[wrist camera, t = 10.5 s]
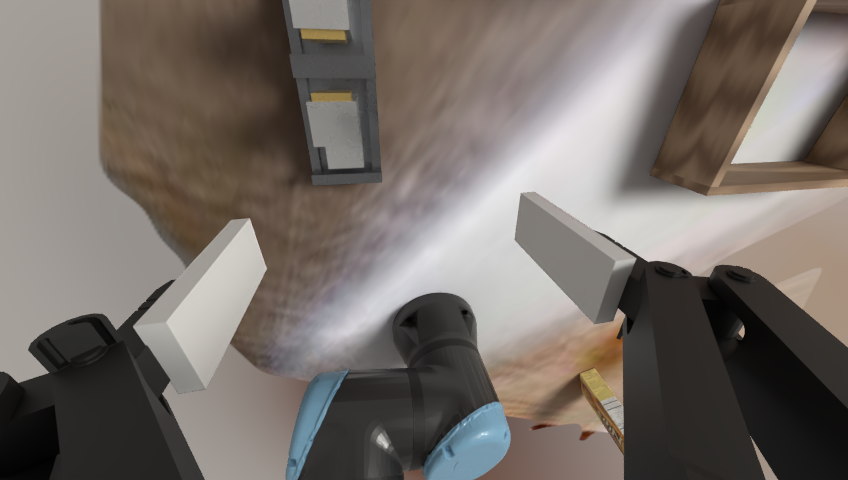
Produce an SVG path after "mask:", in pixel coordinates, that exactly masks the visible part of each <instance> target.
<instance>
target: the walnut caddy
mask: <svg viewBox="0 0 848 480" xmlns="http://www.w3.org/2000/svg"><path fill="white" fill-rule="evenodd" d="M810 12H821V13H838V14H848V0H720V3H719V5H718V8H717V10H716V12H715V15H714V17H713V20H712V22H711V25H710V27H709V30H708V32H707V35H706V37H705V40H704V42H703V45H702V47H701V50H700V52H699V55H698V57H697V60H696V62H695V65H694V67H693V70H692V72H691V75H690V77H689V80H688V82H687V85H686V87H685V90H684V92H683V95H682V97H681V100H680V102H679V105H678V107H677V110H676V112H675V115H674V117H673V120H672V122H671V125H670V127H669V130H668V132H667V135H666V137H665V140H664V142H663V144H662V147H661V149H660V152H659V154H658V157H657V159H656V162H655V164H654V167H653V169H652V172H651V174H650V175H652V176H654V177H657V178H660V179H662V180H665V181H668V182H670V183H673V184H676V185H679V186H681V187H684V188H687V189H689V190H692V191H695V192H697V193H700V194H703V195H706V196H711V195H726V194H742V193H757V192H772V191H788V190H803V189H819V188H834V187H848V94H847V96H846V97H845V99H844V100H843V102H842V103H841V105H840V106H839V108H838V109H837V111H836V112H835V114H834V116H833V117H832V119H831V120H830V122H829V123H828V125H827V126H826V128H825V129H824V131H823V132H822V134H821V136H820V137H819V139H818V140H817V142H816V143H815V145H814V146H813V148H812V149H811V151H810V152H809V154H808V156H807V157H806V159H805V160H804V161H787V162H765V163H743V164H731V162H732V160H733V158H734V156H735V154H736V152H737V150H738V149H739V147H740V145H741V143H742V141H743V139H744V137H745V135H746V133H747V132H748V130H749V128H750V126H751V124H752V122H753V120H754V118H755V116H756V114H757V113H758V111H759V109H760V107H761V105H762V103H763V101H764V99H765V97H766V96H767V94H768V92H769V90H770V88H771V86H772V84H773V82H774V80H775V79H776V77H777V75H778V73H779V71H780V69H781V67H782V65H783V63H784V62H785V60H786V58H787V56H788V54H789V52H790V50H791V48H792V46H793V45H794V43H795V41H796V39H797V37H798V35H799V33H800V31H801V29H802V28H803V26H804V24H805V22H806V20H807V18H808V16H809V14H810Z"/></svg>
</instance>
